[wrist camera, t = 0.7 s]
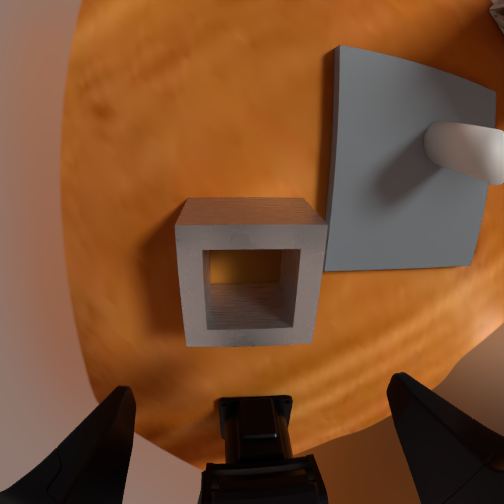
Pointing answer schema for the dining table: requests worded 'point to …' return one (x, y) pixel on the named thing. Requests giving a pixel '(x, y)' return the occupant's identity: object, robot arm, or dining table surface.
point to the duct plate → (407, 164)
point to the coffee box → (498, 13)
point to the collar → (250, 294)
